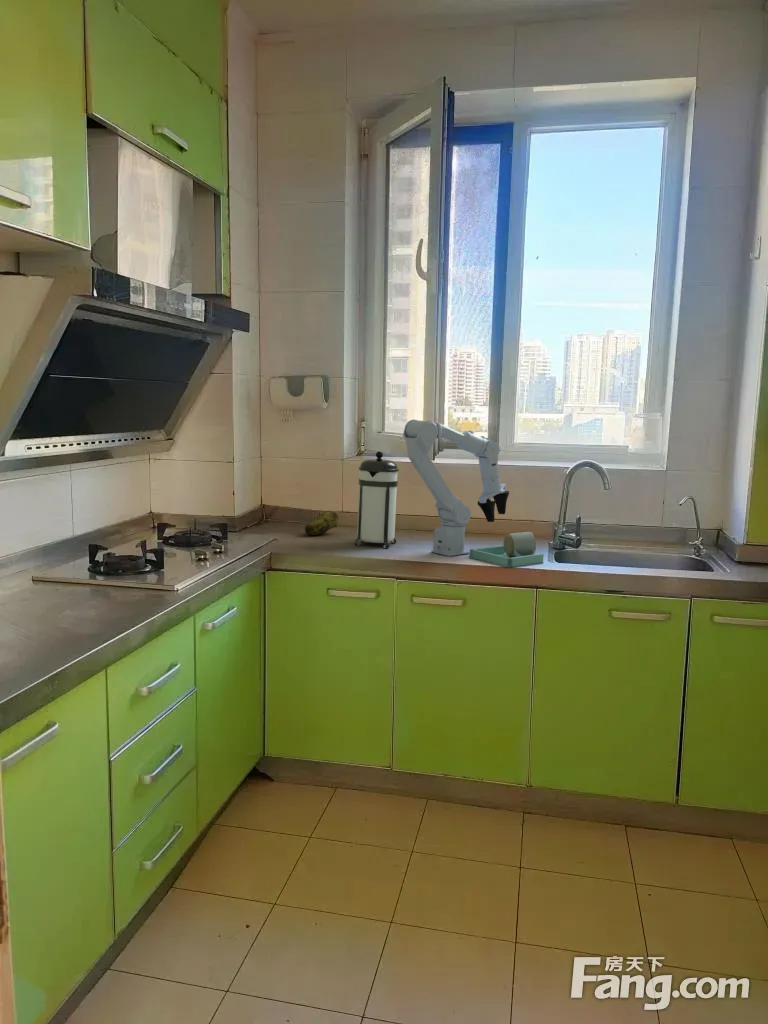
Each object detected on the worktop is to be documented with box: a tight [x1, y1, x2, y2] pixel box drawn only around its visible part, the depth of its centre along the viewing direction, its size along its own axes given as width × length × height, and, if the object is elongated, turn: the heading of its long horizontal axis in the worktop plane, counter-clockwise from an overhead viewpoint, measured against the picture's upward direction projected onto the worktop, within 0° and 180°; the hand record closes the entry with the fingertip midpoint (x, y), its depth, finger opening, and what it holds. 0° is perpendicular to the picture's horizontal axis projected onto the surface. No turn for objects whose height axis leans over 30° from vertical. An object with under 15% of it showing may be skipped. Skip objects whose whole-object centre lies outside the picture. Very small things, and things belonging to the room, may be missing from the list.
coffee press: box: [354, 450, 400, 549], centre depth 247 cm, size 17×16×30 cm
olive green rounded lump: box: [304, 510, 339, 536], centre depth 262 cm, size 8×13×8 cm, turn 118°
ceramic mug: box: [503, 531, 537, 557], centre depth 236 cm, size 11×8×8 cm
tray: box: [469, 544, 544, 568], centre depth 232 cm, size 15×16×2 cm
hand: (496, 517), depth 247 cm, fingers open, 7 cm apart
